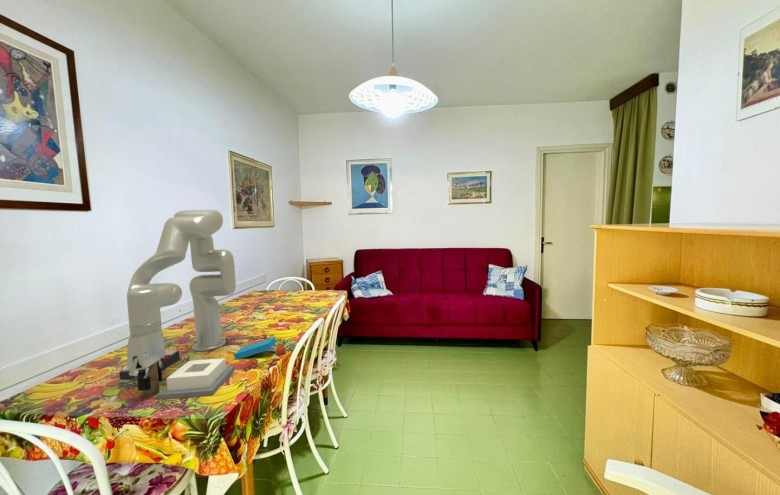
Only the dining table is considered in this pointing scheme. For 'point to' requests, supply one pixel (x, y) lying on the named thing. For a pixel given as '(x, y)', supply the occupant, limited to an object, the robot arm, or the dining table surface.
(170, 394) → the socket block
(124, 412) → the dining table surface
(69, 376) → the dining table surface
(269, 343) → the lever
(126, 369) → the black red box
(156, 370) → the walnut peg
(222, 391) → the dining table surface
